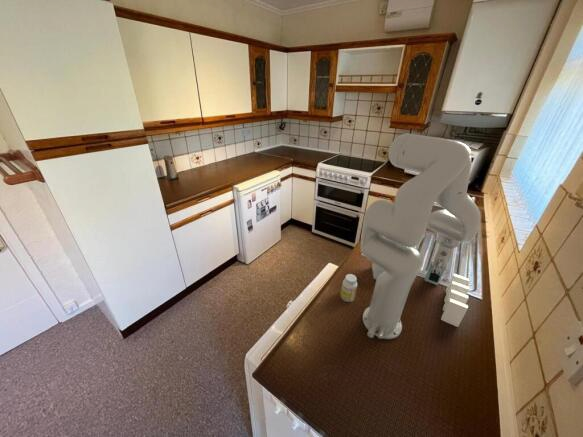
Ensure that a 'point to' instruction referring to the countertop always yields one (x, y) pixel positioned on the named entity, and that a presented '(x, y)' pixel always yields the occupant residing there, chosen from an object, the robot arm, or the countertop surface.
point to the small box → (377, 270)
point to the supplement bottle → (349, 288)
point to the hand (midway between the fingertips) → (434, 273)
